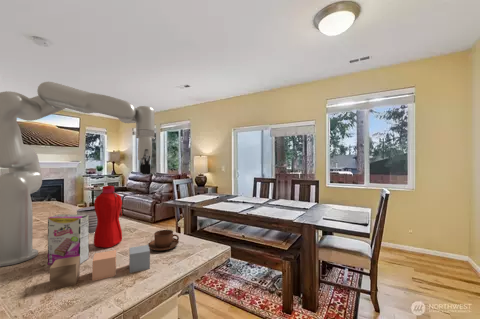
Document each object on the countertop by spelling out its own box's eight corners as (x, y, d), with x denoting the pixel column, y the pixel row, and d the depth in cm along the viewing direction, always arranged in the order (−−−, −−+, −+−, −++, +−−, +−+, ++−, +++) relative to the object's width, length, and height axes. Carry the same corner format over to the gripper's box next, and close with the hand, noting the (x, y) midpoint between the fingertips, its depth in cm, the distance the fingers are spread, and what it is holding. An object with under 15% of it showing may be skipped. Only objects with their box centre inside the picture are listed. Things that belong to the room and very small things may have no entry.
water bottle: (112, 249, 88) (113, 187, 88) (89, 247, 91) (90, 186, 91) (128, 241, 97) (129, 185, 97) (107, 239, 100) (107, 184, 100)
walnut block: (49, 290, 61) (49, 268, 61) (55, 279, 67) (55, 259, 67) (75, 284, 64) (76, 263, 64) (79, 274, 69) (79, 255, 69)
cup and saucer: (177, 240, 99) (177, 226, 99) (180, 250, 88) (180, 235, 88) (148, 244, 95) (148, 229, 95) (147, 255, 84) (147, 239, 84)
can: (83, 235, 105) (83, 210, 105) (72, 231, 111) (72, 207, 111) (108, 229, 114) (108, 206, 114) (96, 225, 120) (96, 203, 120)
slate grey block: (129, 273, 71) (129, 254, 71) (129, 265, 76) (129, 247, 76) (149, 268, 73) (149, 250, 73) (148, 261, 79) (148, 244, 79)
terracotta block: (92, 281, 66) (92, 260, 66) (94, 271, 71) (94, 253, 71) (115, 276, 69) (115, 256, 69) (116, 267, 74) (116, 249, 74)
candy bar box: (46, 265, 75) (46, 217, 75) (58, 259, 80) (58, 214, 80) (79, 265, 75) (80, 217, 75) (89, 258, 80) (89, 213, 80)
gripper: (134, 136, 103) (134, 172, 103) (137, 132, 88) (137, 174, 88) (151, 137, 107) (151, 172, 107) (157, 133, 92) (157, 174, 92)
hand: (145, 173), depth 98 cm, fingers open, 9 cm apart
